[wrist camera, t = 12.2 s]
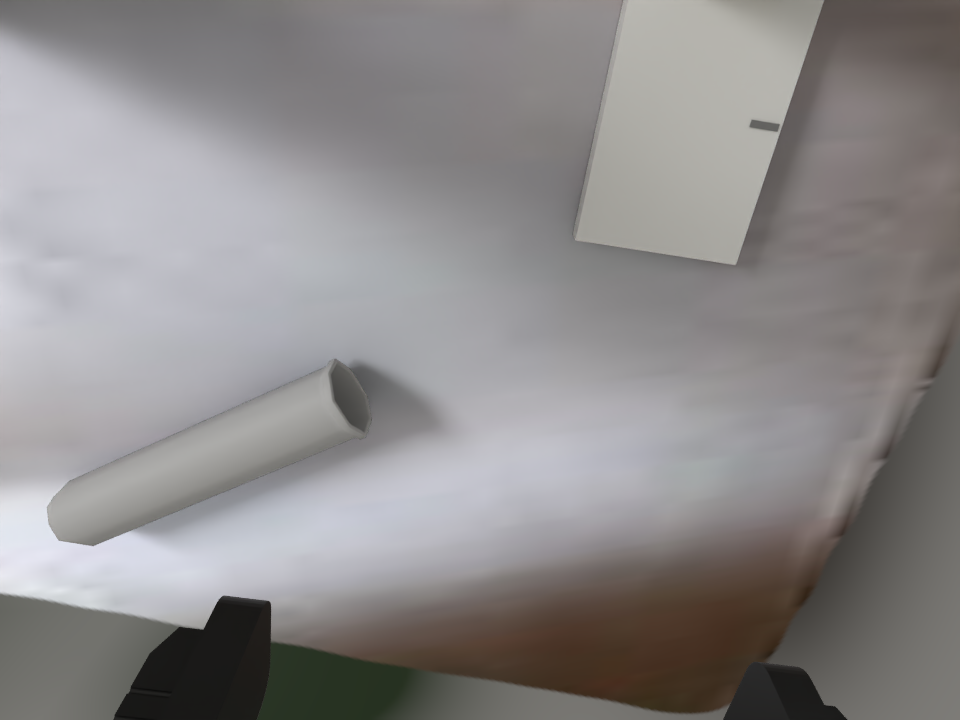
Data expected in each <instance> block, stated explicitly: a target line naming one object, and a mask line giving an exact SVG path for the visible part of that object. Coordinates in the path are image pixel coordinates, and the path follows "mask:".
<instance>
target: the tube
mask: <svg viewBox="0 0 960 720" xmlns="http://www.w3.org/2000/svg"><path fill="white" fill-rule="evenodd" d="M371 421H372V417H371V412H370V406H369V401H368V396H367V395H366V393H365V392H364V390H363V388H362V387H361V385H360V384H359V382H358V380H357V379H356V377H355V376H354V374H353V372H352V371H351V369H349V368H348V367H347V366H345V365H344V364H343V363H341V362H340V361H338V360H337V359H333V360H331V361H329V363H328V364H327V366H326V367H324V368H322V369H320V370H317V371H315V372H313V373H311V374H308V375H306V376H304V377H302V378H299V379H297V380H295V381H293V382H290V383H288V384H286V385H284V386H281V387H279V388H277V389H275V390H272V391H270V392H268V393H266V394H263V395H261V396H259V397H257V398H254V399H252V400H250V401H248V402H245V403H243V404H241V405H239V406H236V407H234V408H232V409H230V410H227V411H225V412H223V413H221V414H219V415H216V416H214V417H212V418H210V419H207V420H205V421H203V422H201V423H198V424H196V425H194V426H192V427H189V428H187V429H185V430H183V431H180V432H178V433H176V434H174V435H171V436H169V437H167V438H165V439H162V440H160V441H158V442H156V443H153V444H151V445H149V446H147V447H144V448H142V449H140V450H138V451H135V452H133V453H131V454H129V455H126V456H124V457H122V458H120V459H117V460H115V461H113V462H111V463H108V464H106V465H104V466H102V467H99V468H97V469H95V470H93V471H91V472H88V473H86V474H84V475H82V476H79V477H77V478H75V479H73V480H70V481H69V482H68V483H67V484H66V485H65V486H64V487H63V488H62V489H61V490H60V491H59V492H58V493H57V494H56V495H55V496H54V497H53V498H52V500H51V502H50V503H49V505H48V506H47V513H48V522H49V526H50V527H51V529H52V531H53V532H54V534H55V535H56V537H57V539H58V540H59V541H64V542H71V543H77V544H83V545H90V546H94V545H97V544H99V543H102V542H104V541H107V540H109V539H111V538H114V537H116V536H119V535H121V534H123V533H126V532H128V531H131V530H133V529H136V528H138V527H140V526H143V525H145V524H148V523H150V522H152V521H155V520H157V519H160V518H162V517H165V516H167V515H169V514H172V513H174V512H177V511H179V510H181V509H184V508H186V507H189V506H191V505H194V504H196V503H198V502H201V501H203V500H206V499H208V498H210V497H213V496H215V495H218V494H220V493H223V492H225V491H227V490H230V489H232V488H235V487H237V486H239V485H242V484H244V483H247V482H249V481H252V480H254V479H256V478H259V477H261V476H264V475H266V474H268V473H271V472H273V471H276V470H278V469H281V468H283V467H285V466H288V465H290V464H293V463H295V462H297V461H300V460H302V459H305V458H307V457H310V456H312V455H314V454H317V453H319V452H322V451H324V450H326V449H329V448H331V447H334V446H336V445H339V444H341V443H343V442H346V441H348V440H351V439H353V438H358V439H363V438H366V436H367V433H368V430H369V427H370V424H371Z"/></svg>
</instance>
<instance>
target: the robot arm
mask: <svg viewBox="0 0 960 720" xmlns="http://www.w3.org/2000/svg"><path fill="white" fill-rule="evenodd" d="M270 645H271V603H270V602H269V601H264V600H256V599H248V598H240V597H231V596H222V597H221V598H220V599H219V601H218V602H217V604H216V606H215V608H214V610H213V612H212V614H211V616H210V618H209V620H208V622H207V624H206V626H205V628H204V630H200V629H191V628H183V627H179V628H178V629H177V630H176V631H175V632H173V633H172V634H171V635H170V636H169V637H168V638H167V639H166V640H165V641H163V642H162V643H161V644H160V645H159V646H158V647H157V648H156V649H154V650H153V651H152V652H151V653H150V654H149V656H148V658H147V659H146V661H145V663H144V665H143V667H142V668H141V670H140V672H139V673H138V675H137V677H136V679H135V680H134V682H133V684H132V686H131V689H130V692H129V694H126V696H125V698H124V700H123V701H122V703H121V705H120V707H119V708H118V710H117V712H116V714H115V717H114V720H257V718H258V715H259V712H260V709H261V706H262V703H263V700H264V696H265V692H266V688H267V683H268V678H269V671H270ZM723 720H847V719H846V718H845V717H844V716H843V714H842V713H841V712H840V711H839V710H838V709H837V708H836V707H835V706H834V707H833V706H826V705H824V703H823V702H822V700H821V698H820V696H819V694H818V692H817V690H816V688H815V686H814V684H813V682H812V680H811V679H810V677H809V675H808V674H807V673H806V672H805V671H804V670H803V669H801V668H799V667H794V666H785V665H778V664H769V663H761V662H753V663H751V664H750V665H749V667H748V668H747V670H746V672H745V674H744V677H743V679H742V681H741V683H740V685H739V687H738V689H737V691H736V693H735V695H734V698H733V700H732V702H731V704H730V706H729V708H728V710H727V712H726V714H725V717H724V719H723Z"/></svg>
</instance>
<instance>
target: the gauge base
mask: <svg viewBox="0 0 960 720" xmlns="http://www.w3.org/2000/svg"><path fill="white" fill-rule="evenodd" d="M823 2H824V0H623V4H622V9H621V14H620V18H619V23H618V28H617V32H616V37H615V41H614V46H613V51H612V55H611V60H610V64H609V69H608V74H607V78H606V83H605V88H604V92H603V97H602V101H601V106H600V111H599V115H598V120H597V125H596V129H595V134H594V138H593V143H592V148H591V152H590V157H589V161H588V166H587V171H586V175H585V180H584V185H583V189H582V194H581V198H580V203H579V208H578V212H577V217H576V221H575V226H574V231H573V236H574V238H575V240H576V241H582V242H589V243H595V244H602V245H608V246H615V247H621V248H628V249H634V250H641V251H647V252H654V253H660V254H667V255H673V256H680V257H686V258H693V259H699V260H706V261H712V262H718V263H725V264H731V265H736V263H737V260H738V257H739V254H740V251H741V248H742V245H743V242H744V239H745V236H746V233H747V230H748V227H749V224H750V221H751V218H752V215H753V212H754V209H755V206H756V203H757V200H758V197H759V194H760V191H761V188H762V185H763V182H764V179H765V176H766V173H767V170H768V167H769V164H770V161H771V158H772V155H773V152H774V149H775V146H776V143H777V140H778V137H779V134H780V131H781V128H782V125H783V122H784V119H785V116H786V113H787V110H788V107H789V104H790V101H791V98H792V95H793V92H794V89H795V86H796V83H797V80H798V77H799V74H800V71H801V68H802V65H803V62H804V59H805V56H806V53H807V50H808V47H809V44H810V41H811V38H812V35H813V32H814V29H815V26H816V23H817V20H818V17H819V14H820V11H821V8H822V5H823Z"/></svg>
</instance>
